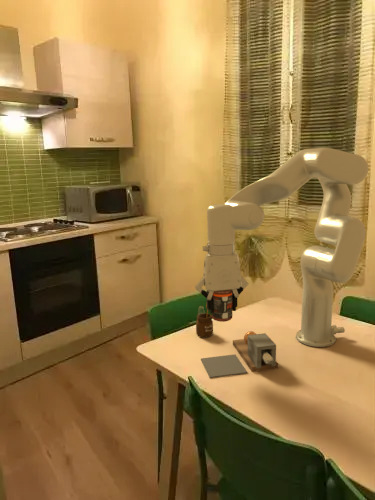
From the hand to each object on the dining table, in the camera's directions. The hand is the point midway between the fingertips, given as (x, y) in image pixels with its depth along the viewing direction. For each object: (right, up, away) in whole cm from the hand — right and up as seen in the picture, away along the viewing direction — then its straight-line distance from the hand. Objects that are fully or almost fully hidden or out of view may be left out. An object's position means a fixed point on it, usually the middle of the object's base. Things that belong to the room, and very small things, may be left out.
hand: (222, 309), depth 113 cm
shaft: (+11, -14, +4) cm, 19 cm away
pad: (+1, -17, +3) cm, 17 cm away
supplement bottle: (0, -3, +1) cm, 3 cm away
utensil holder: (-4, -13, +25) cm, 28 cm away
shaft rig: (+11, -16, +9) cm, 21 cm away
